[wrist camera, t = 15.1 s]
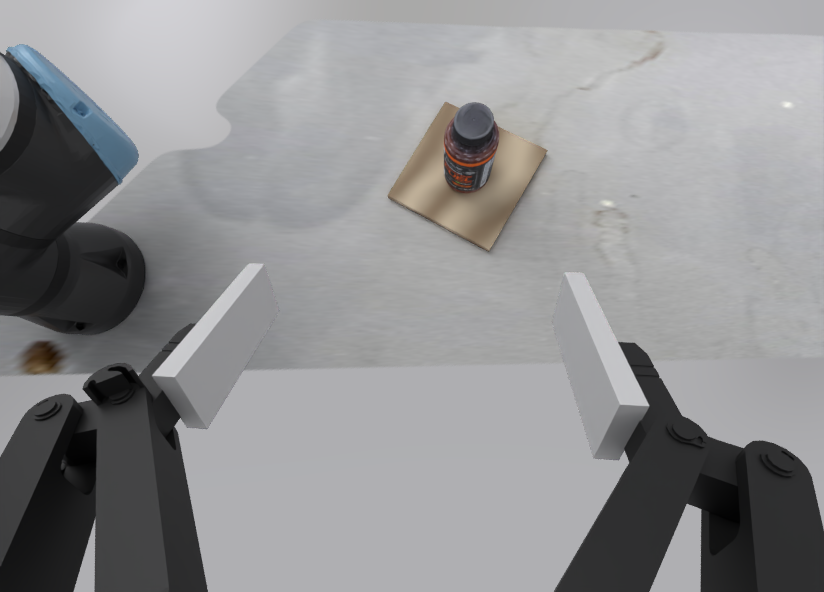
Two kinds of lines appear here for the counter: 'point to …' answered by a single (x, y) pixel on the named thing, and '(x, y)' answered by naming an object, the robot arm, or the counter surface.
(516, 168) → the oak pad
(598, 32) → the counter surface
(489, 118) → the supplement bottle
